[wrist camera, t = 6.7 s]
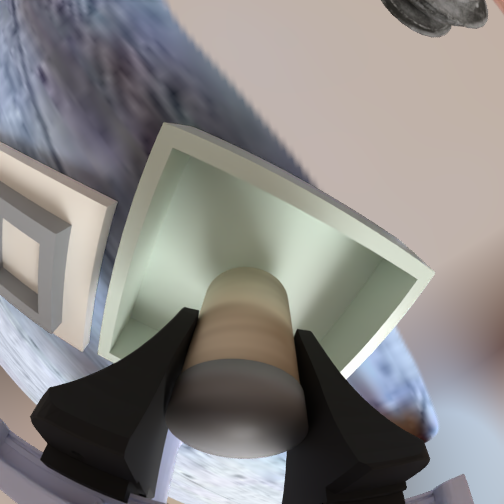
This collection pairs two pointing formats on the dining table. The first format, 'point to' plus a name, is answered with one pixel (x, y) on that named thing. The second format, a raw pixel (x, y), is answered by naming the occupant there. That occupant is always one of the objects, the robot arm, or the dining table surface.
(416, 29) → the salt shaker
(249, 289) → the strut
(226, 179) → the bin
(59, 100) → the dining table surface
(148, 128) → the dining table surface
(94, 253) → the square socket plate
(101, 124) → the dining table surface
